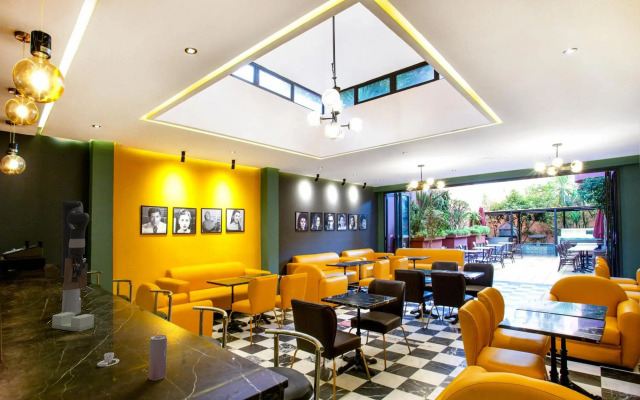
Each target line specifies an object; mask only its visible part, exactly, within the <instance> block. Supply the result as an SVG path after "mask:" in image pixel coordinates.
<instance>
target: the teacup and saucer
mask: <svg viewBox="0 0 640 400" xmlns="http://www.w3.org/2000/svg"><path fill="white" fill-rule="evenodd" d="M103 357H104V358H103V360H102V361H101V360H100V361H99V362H98V363H97V364H96V366H97V367H101V368H102V367H109V366H113V365H116V364H118V363H119V362H120V359H119V358H114V357H115V353H114V352H112V351H109V352H105V353H104V355H103ZM113 361H115V362H113ZM112 362H113V363H112Z"/></svg>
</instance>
